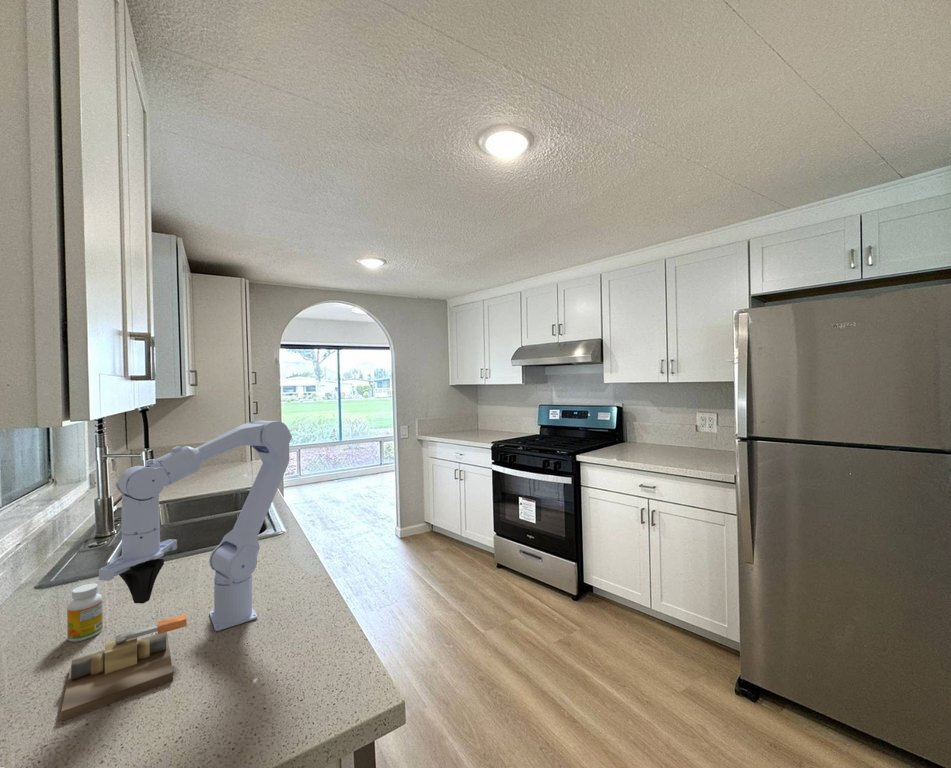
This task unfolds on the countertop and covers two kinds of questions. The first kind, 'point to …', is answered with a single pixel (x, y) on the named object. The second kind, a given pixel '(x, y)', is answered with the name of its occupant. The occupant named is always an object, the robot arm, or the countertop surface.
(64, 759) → the countertop surface
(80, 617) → the supplement bottle
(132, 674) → the valve base
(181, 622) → the valve lever
